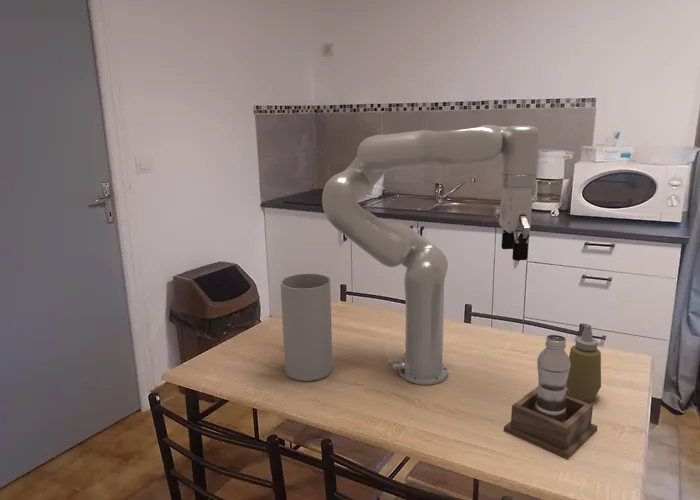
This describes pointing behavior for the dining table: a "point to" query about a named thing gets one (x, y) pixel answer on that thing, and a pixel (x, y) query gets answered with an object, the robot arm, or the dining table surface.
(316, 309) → the cylinder vase
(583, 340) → the squeeze bottle
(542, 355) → the plastic bottle
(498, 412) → the dining table surface
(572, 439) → the bottle caddy
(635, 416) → the dining table surface
